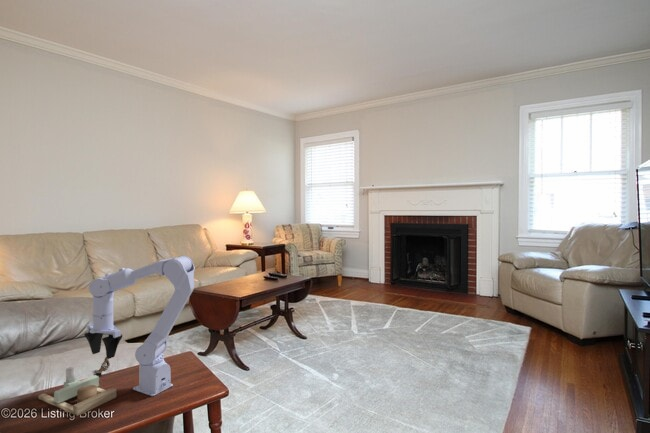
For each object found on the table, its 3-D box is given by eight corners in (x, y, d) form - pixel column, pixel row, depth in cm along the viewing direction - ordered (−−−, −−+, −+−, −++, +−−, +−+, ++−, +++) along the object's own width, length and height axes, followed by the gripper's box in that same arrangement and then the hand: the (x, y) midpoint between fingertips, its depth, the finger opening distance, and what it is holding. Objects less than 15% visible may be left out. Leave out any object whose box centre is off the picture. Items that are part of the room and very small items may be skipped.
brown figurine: (112, 363, 137) (110, 354, 135) (103, 381, 129) (100, 372, 127) (107, 363, 136) (105, 354, 134) (97, 381, 129) (95, 372, 127)
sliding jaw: (98, 385, 118) (98, 364, 118) (58, 403, 108) (58, 379, 107) (88, 381, 121) (87, 360, 121) (47, 398, 110) (46, 375, 110)
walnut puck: (100, 400, 113) (100, 387, 112) (83, 408, 108) (83, 394, 108) (90, 396, 115) (90, 383, 115) (73, 404, 110) (73, 390, 110)
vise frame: (116, 397, 114) (116, 389, 114) (77, 415, 104) (77, 407, 104) (77, 382, 123) (77, 375, 123) (38, 398, 113) (38, 390, 113)
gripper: (77, 313, 120) (77, 355, 120) (105, 320, 113) (105, 364, 114) (98, 308, 126) (98, 348, 126) (126, 314, 120) (126, 356, 120)
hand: (103, 355), depth 120 cm, fingers open, 7 cm apart
